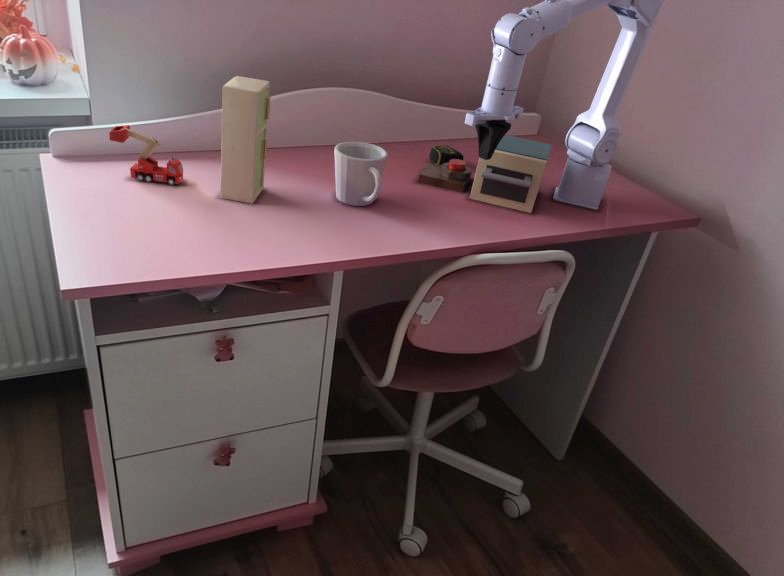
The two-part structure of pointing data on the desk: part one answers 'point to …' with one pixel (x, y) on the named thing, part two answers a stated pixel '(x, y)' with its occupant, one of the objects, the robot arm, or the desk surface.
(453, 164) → the button
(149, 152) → the toy fire truck
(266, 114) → the toy refrigerator
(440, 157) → the tape measure
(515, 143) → the toy oven
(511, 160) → the oven door
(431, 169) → the timer block
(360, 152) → the mug
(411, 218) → the desk surface
